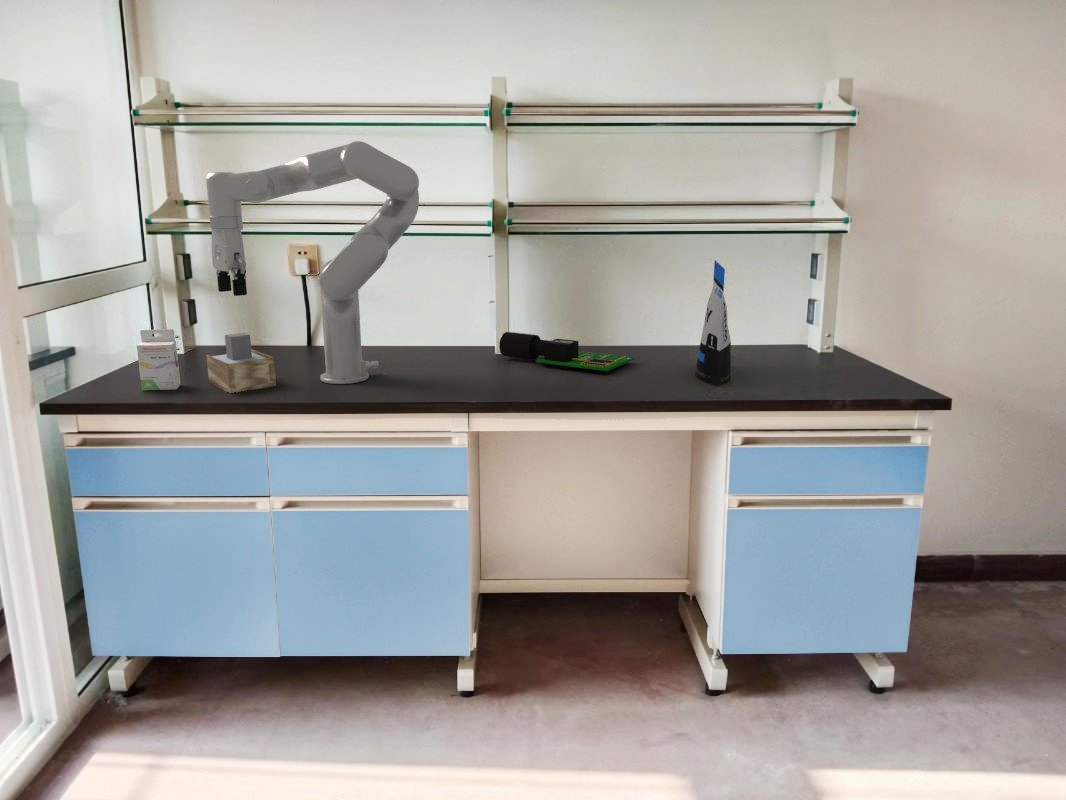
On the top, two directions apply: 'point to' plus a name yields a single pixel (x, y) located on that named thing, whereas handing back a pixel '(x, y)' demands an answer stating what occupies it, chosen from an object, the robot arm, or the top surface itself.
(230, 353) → the cover plate
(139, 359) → the ink box
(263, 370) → the beech box
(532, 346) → the electronic board model
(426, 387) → the top surface
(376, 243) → the robot arm
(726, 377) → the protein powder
